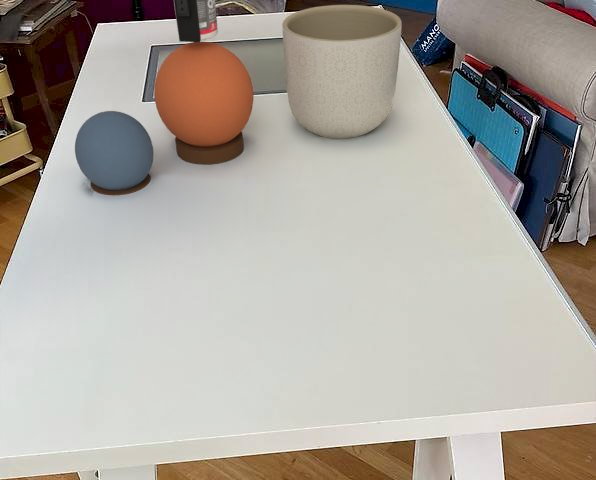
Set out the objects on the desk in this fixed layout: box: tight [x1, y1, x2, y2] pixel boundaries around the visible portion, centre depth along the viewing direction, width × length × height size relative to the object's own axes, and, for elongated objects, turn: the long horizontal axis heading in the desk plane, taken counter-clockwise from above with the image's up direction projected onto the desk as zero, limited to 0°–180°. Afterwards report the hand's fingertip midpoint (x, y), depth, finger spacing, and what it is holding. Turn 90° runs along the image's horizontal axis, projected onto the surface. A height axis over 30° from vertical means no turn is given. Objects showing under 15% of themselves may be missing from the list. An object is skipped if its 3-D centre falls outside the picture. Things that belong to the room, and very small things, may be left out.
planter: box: [282, 4, 403, 139], centre depth 108 cm, size 17×17×15 cm
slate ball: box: [74, 110, 154, 197], centre depth 95 cm, size 10×10×11 cm
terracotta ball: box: [153, 40, 254, 165], centre depth 103 cm, size 14×14×15 cm
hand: (197, 33), depth 97 cm, fingers closed on pill bottle, 5 cm apart
